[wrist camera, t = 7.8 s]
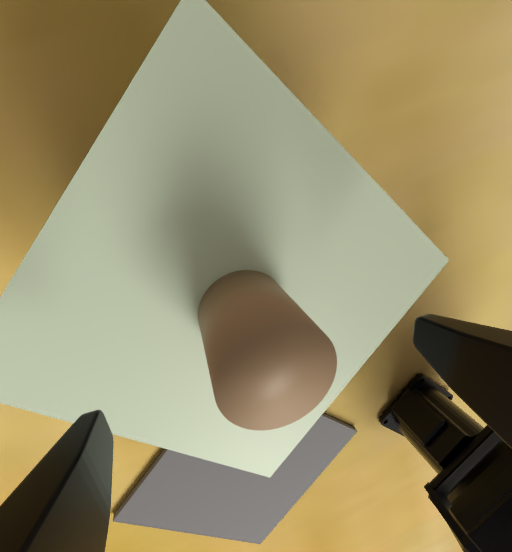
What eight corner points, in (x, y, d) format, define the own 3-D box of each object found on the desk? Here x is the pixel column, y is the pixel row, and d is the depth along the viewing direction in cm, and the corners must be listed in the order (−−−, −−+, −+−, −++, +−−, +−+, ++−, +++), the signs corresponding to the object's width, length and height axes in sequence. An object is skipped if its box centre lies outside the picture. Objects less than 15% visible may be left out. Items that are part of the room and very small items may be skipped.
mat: (354, 427, 29) (357, 431, 29) (258, 538, 31) (260, 544, 31) (225, 368, 23) (226, 372, 22) (113, 514, 24) (112, 521, 24)
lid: (438, 256, 14) (551, 294, 10) (266, 466, 16) (302, 573, 12) (188, -5, 8) (212, -176, 4) (-43, 375, 10) (-191, 525, 6)
